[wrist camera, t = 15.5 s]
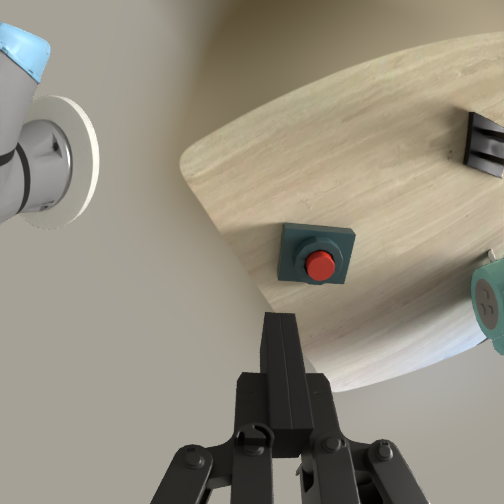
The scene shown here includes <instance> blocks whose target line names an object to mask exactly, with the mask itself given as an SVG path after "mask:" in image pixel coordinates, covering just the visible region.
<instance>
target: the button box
mask: <svg viewBox="0 0 504 504" xmlns="http://www.w3.org/2000/svg"><path fill="white" fill-rule="evenodd" d="M355 236H356V234H355V233H354V232H353V230H352V229H348V228H338V227H328V226H317V225H307V224H295V223H283V230H282V238H281V246H280V254H279V261H278V269H277V277H278V280H280V281H296V282H306V283H308V284H312V285H322V284H324V283H332V284H344V282H345V278H346V274H347V270H348V266H349V262H350V258H351V254H352V249H353V245H354V241H355ZM316 251H325V252H327V253H328V254H329V255H330V256H331V258H332V260H333V262H334V265H335V269H334V272H333V274H332V275H331V276H330V277H329V278H328V279H326V280H322V281H317V280H314V279H312V278H311V277H310V276H309V274H308V271H307V268H306V260H307V258H308V257H309V255H310V254H312V253H313V252H316Z"/></svg>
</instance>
